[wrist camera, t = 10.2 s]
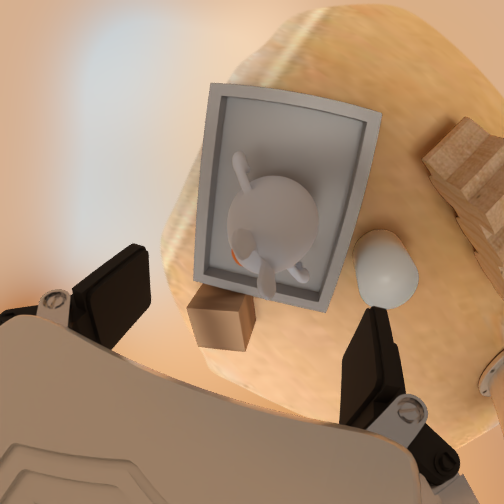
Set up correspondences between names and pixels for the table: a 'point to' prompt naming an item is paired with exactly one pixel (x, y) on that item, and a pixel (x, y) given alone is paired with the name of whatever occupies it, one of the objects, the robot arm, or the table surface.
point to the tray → (286, 165)
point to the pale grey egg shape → (384, 269)
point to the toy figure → (270, 226)
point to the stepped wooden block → (474, 190)
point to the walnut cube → (221, 318)
